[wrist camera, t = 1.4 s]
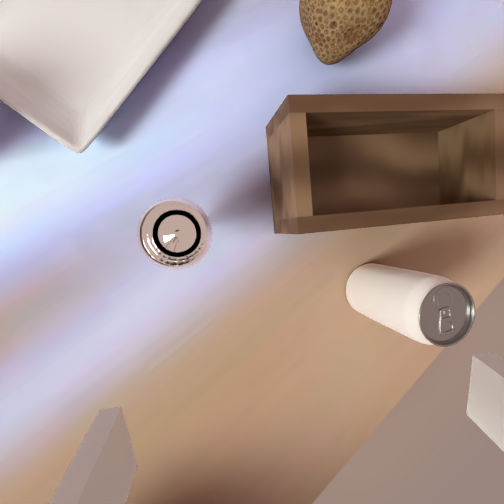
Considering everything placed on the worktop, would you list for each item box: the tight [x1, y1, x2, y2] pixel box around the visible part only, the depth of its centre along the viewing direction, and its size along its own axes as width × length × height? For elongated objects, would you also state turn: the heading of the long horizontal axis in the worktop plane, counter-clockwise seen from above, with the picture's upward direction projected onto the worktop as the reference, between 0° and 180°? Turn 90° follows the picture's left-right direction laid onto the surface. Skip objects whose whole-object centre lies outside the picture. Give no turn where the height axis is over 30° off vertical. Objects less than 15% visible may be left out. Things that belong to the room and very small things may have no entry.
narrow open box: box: [266, 94, 504, 234], centre depth 32 cm, size 12×23×8 cm, turn 95°
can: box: [346, 263, 475, 347], centre depth 31 cm, size 6×6×12 cm
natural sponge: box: [299, 0, 392, 65], centre depth 29 cm, size 9×9×10 cm
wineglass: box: [137, 197, 213, 270], centre depth 26 cm, size 6×6×12 cm
